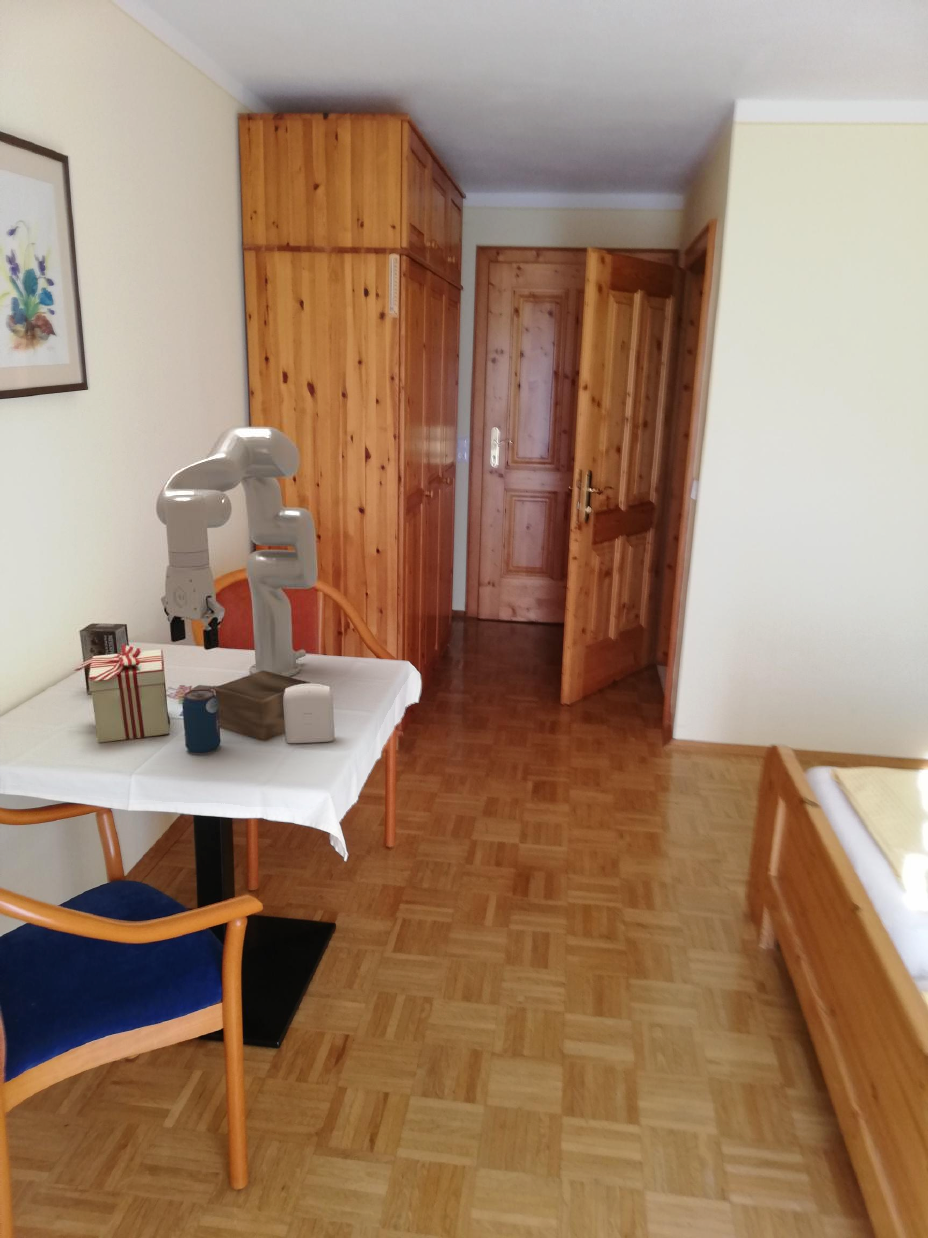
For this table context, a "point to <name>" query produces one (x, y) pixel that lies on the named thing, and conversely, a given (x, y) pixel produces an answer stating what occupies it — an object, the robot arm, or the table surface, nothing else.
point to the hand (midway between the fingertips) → (194, 644)
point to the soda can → (201, 721)
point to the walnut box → (254, 704)
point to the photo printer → (308, 713)
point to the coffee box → (101, 642)
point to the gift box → (128, 694)
